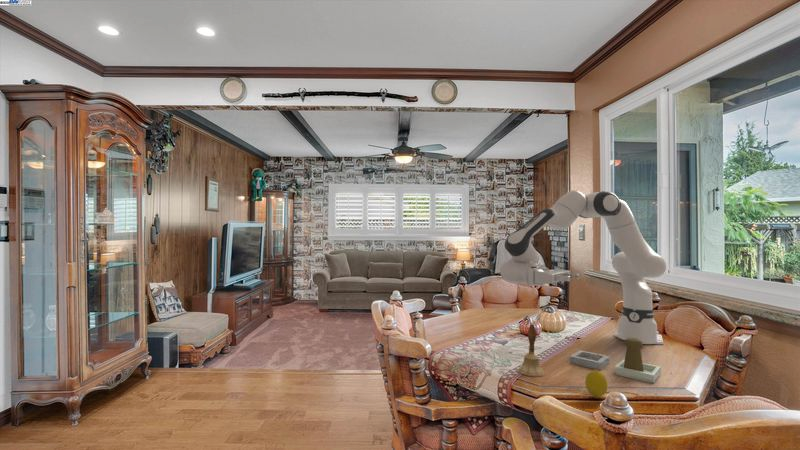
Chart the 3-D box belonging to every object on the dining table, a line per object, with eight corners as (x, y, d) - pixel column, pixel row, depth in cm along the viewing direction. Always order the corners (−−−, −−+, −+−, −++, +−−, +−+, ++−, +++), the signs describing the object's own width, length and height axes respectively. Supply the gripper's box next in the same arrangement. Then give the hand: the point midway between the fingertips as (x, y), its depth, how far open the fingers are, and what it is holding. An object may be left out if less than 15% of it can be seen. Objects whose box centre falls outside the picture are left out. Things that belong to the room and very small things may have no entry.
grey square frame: (579, 356, 145) (579, 350, 145) (609, 363, 138) (609, 356, 138) (570, 363, 138) (570, 356, 138) (600, 370, 130) (600, 363, 131)
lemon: (593, 402, 105) (593, 373, 105) (581, 394, 111) (581, 366, 111) (612, 401, 106) (612, 372, 106) (598, 393, 112) (598, 365, 112)
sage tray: (623, 366, 135) (623, 358, 135) (660, 374, 128) (660, 366, 128) (614, 374, 127) (614, 366, 127) (653, 383, 120) (653, 375, 120)
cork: (648, 375, 124) (648, 341, 124) (628, 375, 124) (628, 340, 124) (638, 369, 130) (638, 336, 130) (619, 368, 130) (619, 336, 130)
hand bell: (541, 369, 131) (542, 322, 132) (546, 378, 123) (546, 328, 123) (516, 367, 133) (517, 321, 133) (519, 376, 125) (520, 326, 125)
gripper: (549, 280, 161) (583, 283, 151) (527, 284, 146) (564, 288, 137) (549, 265, 161) (583, 267, 152) (527, 268, 146) (564, 271, 137)
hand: (574, 277), depth 144 cm, fingers open, 8 cm apart
